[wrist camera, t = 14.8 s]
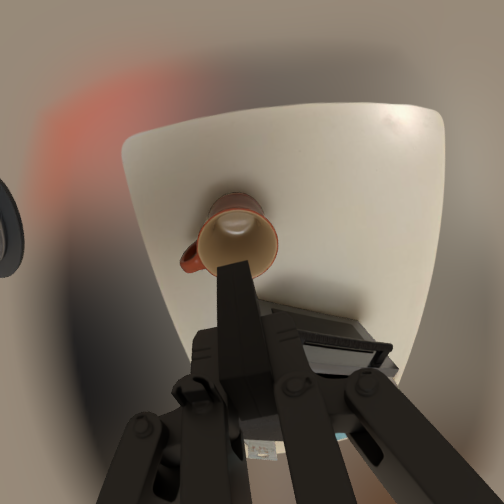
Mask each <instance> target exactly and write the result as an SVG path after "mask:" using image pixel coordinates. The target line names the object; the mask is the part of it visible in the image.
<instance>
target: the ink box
mask: <svg viewBox="0 0 504 504" xmlns="http://www.w3.org/2000/svg"><path fill="white" fill-rule="evenodd" d="M244 443H245V444H246V445H248V454H249V458H255V459H265V460H276V461H277V454H276V447H275V441H263V440H247V439H244ZM258 453H259V454H268V455H269V457H265V458H263V457H261V456H258V455H257V454H258Z"/></svg>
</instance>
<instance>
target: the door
mask: <svg viewBox="0 0 504 504" xmlns="http://www.w3.org/2000/svg"><path fill="white" fill-rule="evenodd" d="M258 302H259V307H260V311H261V316H265V315H269V314H273V313H277V312H281V311H286V312H287V313H288V314H289V315H290V316H292V317H293V319H294V322H295V325H296V328H297V331H298V334H299V337H300V339H301V342H302V345H303V348H304V351H305V354H306V357H307V360H308V362H309V365H310V367H311V369H312V370H313V371H314V372H315V373H324V374H337V375H351V374H352V373H353V372H354V371H356V370H359V369H361V368H374V369H378V370H379V371H381V372H382V373H384V374H385V375H386V376H387V377H394V376H395V375H396V373H397V372H398V370H399V368H398V367H397V366H396V365H395V364H394V362H393V361H392V360H391V359H390V358H389V356H388V354H389V352H391V351H392V349H393V345H392V344H391V343H383V342H376V341H375V340H374V339H373V338H372V336H371V335H370V334H369V333H368V332H367V331H366V329H365V328H364V327H363V326H362V325H361V324H360V323H359V321H358V320H353V319H348V318H343V317H338V316H333V315H328V314H323V313H318V312H313V311H309V310H304V309H299V308H295V307H290V306H286V305H281V304H277V303H273V302H268V301H264V300H260V299H258Z"/></svg>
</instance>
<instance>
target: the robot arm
mask: <svg viewBox="0 0 504 504" xmlns="http://www.w3.org/2000/svg"><path fill="white" fill-rule="evenodd" d="M7 247H8V236H7V229H6V225H5V222H4V219H3V216H2V214H1V211H0V261H1V260H2V259H3V258H4V256H5V255H6V252H7ZM171 394H172V395H173V396H174V398H175V399H176V400H177V401H178V403H179V404H180V405H181V406H180V407H179V408H178V409H176V410H174V411H172V412H169V413H167V414H164V415H161V416H157V415H156V414H154V413H151V412H141V413H138V414H136V415H135V416H133V417H132V418H131V419H130V420H129V422H128V423H127V426H126V428H125V430H124V433H123V435H122V437H121V440H120V442H119V445H118V447H117V450H116V452H115V455H114V458H113V460H112V462H111V465H110V468H109V470H108V473H107V475H106V478H105V481H104V484H103V486H102V489H101V491H100V494H99V497H98V500H97V502H96V504H252V499H251V492H250V484H249V477H248V469H247V461H246V453H245V445H244V437H243V433H242V430H241V428H240V426H239V418H240V420H241V421H245V420H251V419H256V418H262V417H267V416H271V415H276V414H278V417H279V421H280V426H281V431H282V436H283V441H284V446H285V451H286V455H287V460H288V465H289V470H290V475H291V480H292V484H293V489H294V494H295V498H296V503H297V504H357V501H356V498H355V495H354V492H353V488H352V485H351V482H350V479H349V476H348V473H347V469H346V466H345V463H344V460H343V457H342V454H341V451H340V448H339V445H338V441H337V438H336V435H335V433H345V434H346V436H347V437H348V439H349V440H350V441H351V443H352V444H353V445H354V447H355V448H356V450H357V451H358V452H359V454H360V455H361V456H362V458H363V459H364V461H365V462H366V463H367V464H368V466H369V467H370V469H371V470H372V471H373V473H374V474H375V475H376V477H377V478H378V479H379V481H380V482H381V483H382V484H383V486H384V487H385V489H386V490H387V491H388V493H389V494H390V495H391V497H392V498H393V499H394V500H395V502H396V503H397V504H504V503H503V502H502V500H501V499H500V498H499V497H498V496H497V495H496V494H495V493H494V491H493V490H492V489H491V488H490V487H489V486H488V485H487V484H486V483H485V481H484V480H483V479H482V478H481V477H480V476H479V475H478V474H477V473H476V472H475V471H474V469H473V468H472V467H471V466H470V465H469V464H468V463H467V462H466V461H465V460H464V458H463V457H462V456H461V455H460V454H459V453H458V452H457V451H456V450H455V449H454V448H453V446H452V445H451V444H450V443H449V442H448V441H447V440H446V439H445V438H444V437H443V436H442V435H441V434H440V432H439V431H438V430H437V429H436V428H435V427H434V426H433V425H432V424H431V423H430V422H429V421H428V420H427V419H426V418H425V417H424V415H423V414H422V413H421V412H420V411H419V410H418V409H417V408H416V407H415V406H414V405H413V404H412V403H411V402H410V400H409V399H408V398H407V397H406V396H405V395H404V394H403V393H402V392H401V391H400V390H399V389H398V388H397V387H396V386H395V385H394V384H393V382H392V381H391V380H390V379H389V378H388V377H387V376H386V375H385V374H384V373H382V372H381V371H379V370H378V369H374V368H361V369H359V370H356V371H354V372H353V373H352V374H351V375H349V376H348V378H345V379H329V378H324V377H321V376H319V375H317V374H316V373H315V372H314V371H313V370H312V369H311V367H310V365H309V362H308V360H307V357H306V354H305V351H304V348H303V345H302V342H301V339H300V337H299V334H298V331H297V328H296V325H295V322H294V319H293V317H292V316H290V315H289V314H288V313H287V312H286V311H281V312H277V313H273V314H269V315H265V316H261V311H260V307H259V302H258V298H257V294H256V290H255V287H254V283H253V279H252V275H251V271H250V267H249V263H248V260H245V261H241V262H236V263H232V264H228V265H224V266H220V267H217V327H214V328H209V329H204V330H199V331H198V332H197V334H196V336H195V337H194V339H193V344H192V361H191V374H189V375H186V376H184V377H183V378H181V379H180V380H178V381H177V383H176V384H175V385H174V386H173V389H172V392H171Z"/></svg>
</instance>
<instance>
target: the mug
mask: <svg viewBox="0 0 504 504" xmlns="http://www.w3.org/2000/svg"><path fill="white" fill-rule="evenodd" d="M277 251H278V237H277V234H276V231H275V229H274V227H273V226H272V224H271V223H270V222H269V221H268V220H267V219H266V218H265V217H264V213H263V210H262V208H261V206H260V205H259V204H258V202H257V201H256V200H255V199H254V198H252V197H251V196H249V195H247V194H245V193H239V192H233V193H228V194H226V195H224V196H222V197H220V198H219V199H218V200H217V201H216V202H215V203H214V204H213V206H212V207H211V209H210V211H209V214H208V220H207V221H206V222H205V224H204V225H203V227H202V228H201V230H200V232H199V235H198V239H197V240H196V241H195V242H194V243H193V244H191V245H190V246H189V247H188V248H187V249H186V251H185V252H184V253H183V255H182V257H181V259H180V266H181V268H182V269H183V270H184V271H185V272H186V273H193V272H196V271H198V270H203V269H207V270H208V271H209V272H210V273H211V274H212V275H214V276H216V277H217V267H220V266H224V265H228V264H232V263H236V262H241V261H245V260H248V263H249V267H250V271H251V275H252V279H254V278H256V277H258V276H260V275H261V274H263V273H264V272H265V271H266V270H268V268H269V267H270V266H271V265H272V263H273V262H274V260H275V258H276V255H277Z"/></svg>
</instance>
